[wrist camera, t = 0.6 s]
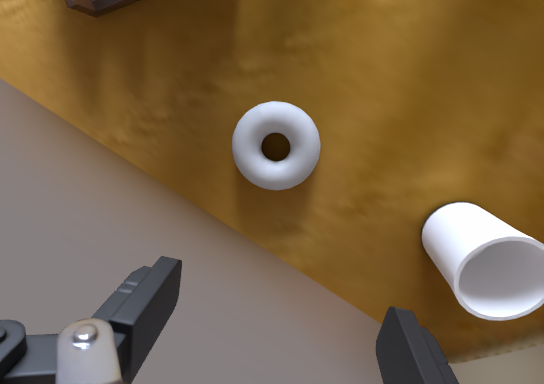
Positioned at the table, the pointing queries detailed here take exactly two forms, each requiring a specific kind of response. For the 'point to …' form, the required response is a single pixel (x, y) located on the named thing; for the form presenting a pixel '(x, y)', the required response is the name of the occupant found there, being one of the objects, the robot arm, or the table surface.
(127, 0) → the rack
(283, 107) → the donut
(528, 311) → the mug
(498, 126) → the table surface
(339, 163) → the table surface
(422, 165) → the table surface
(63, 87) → the table surface
